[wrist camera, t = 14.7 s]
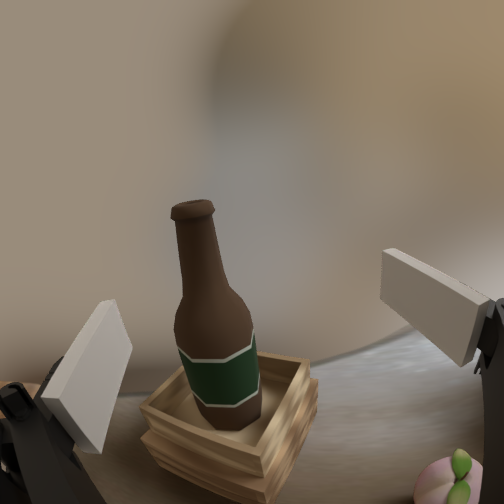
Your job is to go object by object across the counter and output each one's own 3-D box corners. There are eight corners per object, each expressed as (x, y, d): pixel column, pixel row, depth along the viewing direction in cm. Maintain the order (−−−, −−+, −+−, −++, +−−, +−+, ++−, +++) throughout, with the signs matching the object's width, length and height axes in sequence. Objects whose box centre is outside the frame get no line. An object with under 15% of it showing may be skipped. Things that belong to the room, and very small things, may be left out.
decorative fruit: (462, 533, 10) (509, 500, 7) (396, 545, 12) (431, 522, 10) (460, 473, 18) (495, 428, 15) (403, 481, 21) (429, 440, 18)
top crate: (213, 366, 40) (207, 340, 38) (309, 386, 33) (309, 359, 32) (152, 431, 27) (138, 406, 26) (264, 477, 21) (259, 456, 19)
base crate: (223, 390, 43) (215, 358, 41) (316, 411, 36) (318, 379, 34) (159, 465, 28) (140, 438, 26) (269, 512, 21) (263, 492, 19)
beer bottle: (275, 396, 31) (254, 192, 24) (245, 442, 25) (198, 208, 18) (222, 381, 35) (186, 197, 28) (188, 419, 28) (126, 214, 22)
